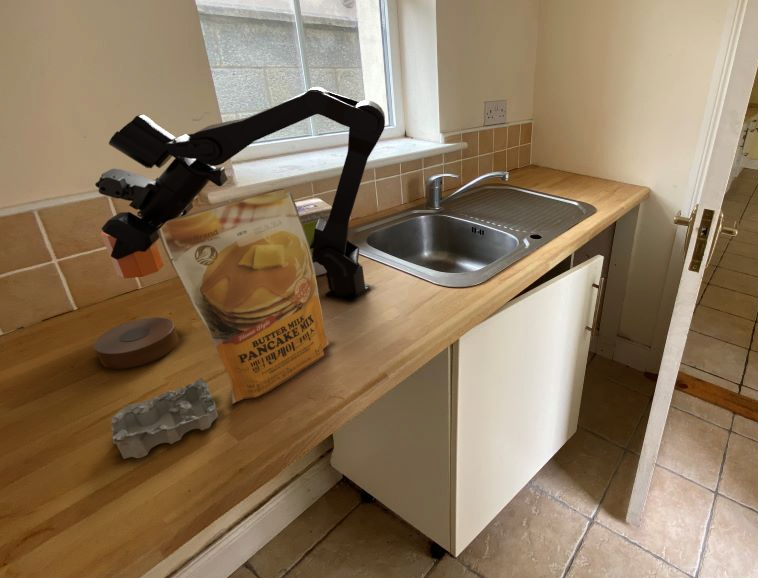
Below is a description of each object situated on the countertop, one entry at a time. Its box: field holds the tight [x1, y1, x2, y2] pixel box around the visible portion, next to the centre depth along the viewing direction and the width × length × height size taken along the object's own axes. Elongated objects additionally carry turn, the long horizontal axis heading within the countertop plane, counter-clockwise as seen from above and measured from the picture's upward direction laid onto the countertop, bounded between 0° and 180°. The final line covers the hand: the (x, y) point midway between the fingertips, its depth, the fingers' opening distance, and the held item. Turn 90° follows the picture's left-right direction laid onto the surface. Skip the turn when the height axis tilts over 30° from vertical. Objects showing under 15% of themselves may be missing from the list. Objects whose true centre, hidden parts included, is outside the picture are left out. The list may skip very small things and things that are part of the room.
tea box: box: [295, 197, 332, 277], centre depth 98 cm, size 15×10×15 cm
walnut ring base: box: [93, 316, 180, 370], centre depth 73 cm, size 10×10×3 cm
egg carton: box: [110, 377, 219, 460], centre depth 59 cm, size 11×8×4 cm
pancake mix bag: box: [157, 187, 330, 404], centre depth 65 cm, size 7×19×28 cm, turn 152°
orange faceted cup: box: [100, 230, 164, 279], centre depth 78 cm, size 6×6×8 cm
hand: (123, 249), depth 78 cm, fingers closed on orange faceted cup, 6 cm apart
